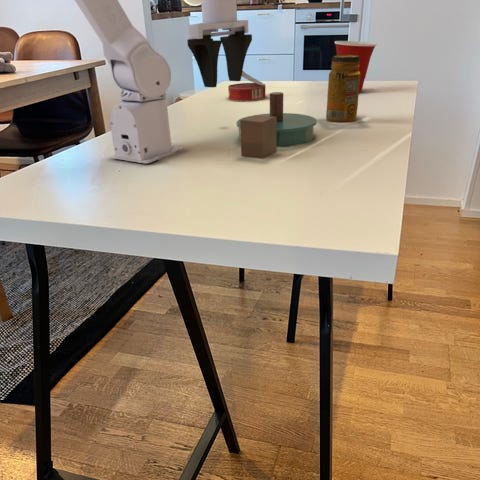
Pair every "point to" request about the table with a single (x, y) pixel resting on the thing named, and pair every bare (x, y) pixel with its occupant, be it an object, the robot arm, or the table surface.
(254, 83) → the canned food
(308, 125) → the lid
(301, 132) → the tin
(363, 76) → the plastic cup
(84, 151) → the table surface
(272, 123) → the block
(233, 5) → the robot arm
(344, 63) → the condiment
